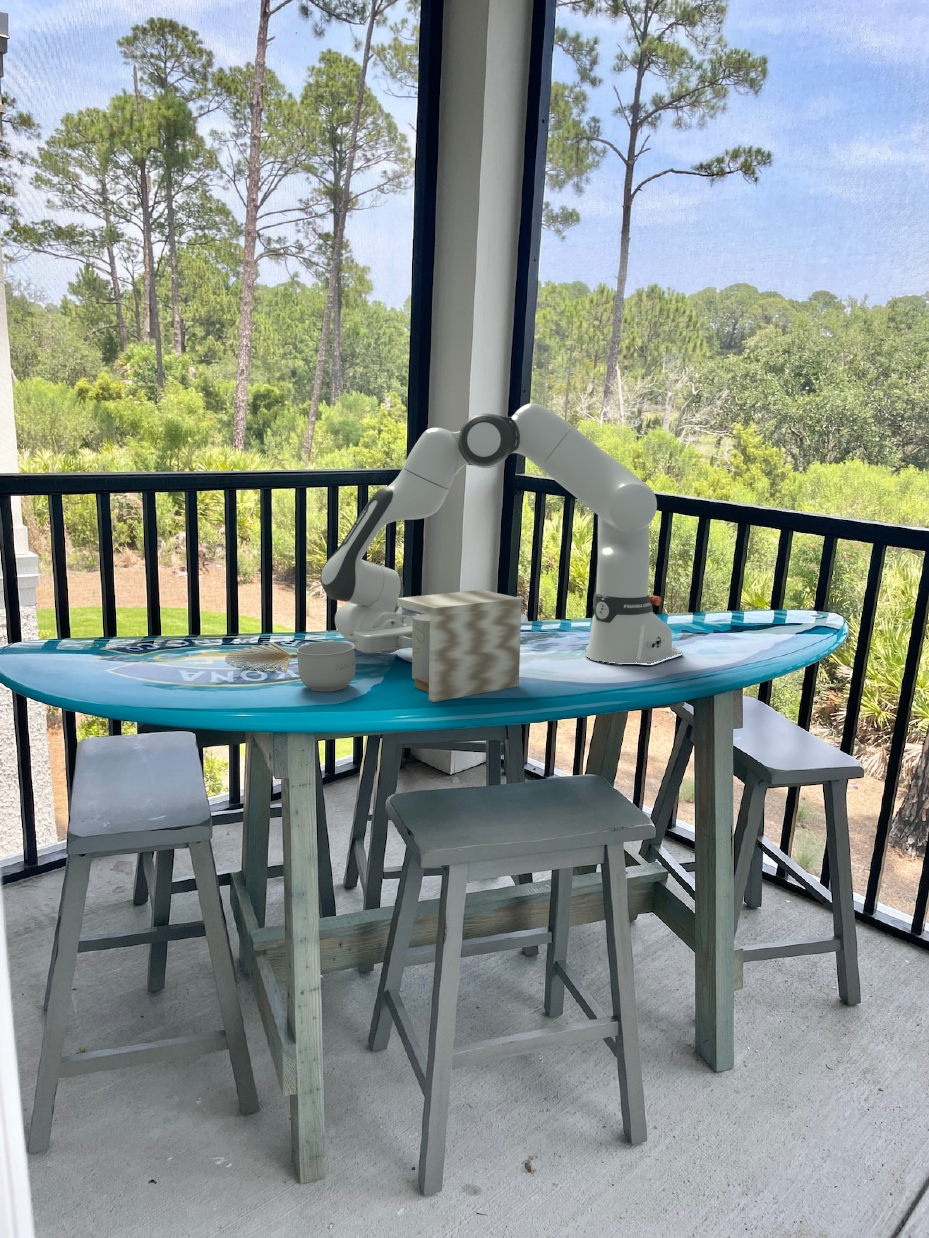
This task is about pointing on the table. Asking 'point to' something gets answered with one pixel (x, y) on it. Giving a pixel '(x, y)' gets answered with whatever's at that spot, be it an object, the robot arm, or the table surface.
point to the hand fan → (262, 657)
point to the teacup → (326, 665)
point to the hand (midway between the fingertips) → (421, 644)
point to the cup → (420, 646)
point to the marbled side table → (469, 642)
